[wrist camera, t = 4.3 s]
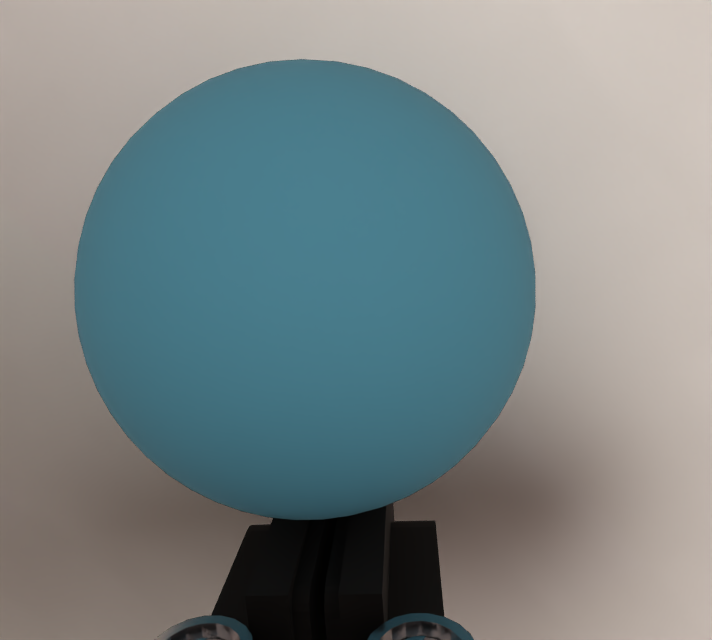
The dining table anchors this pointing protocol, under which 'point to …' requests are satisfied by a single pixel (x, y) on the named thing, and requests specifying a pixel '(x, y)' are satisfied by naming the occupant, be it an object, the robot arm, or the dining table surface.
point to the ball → (305, 289)
